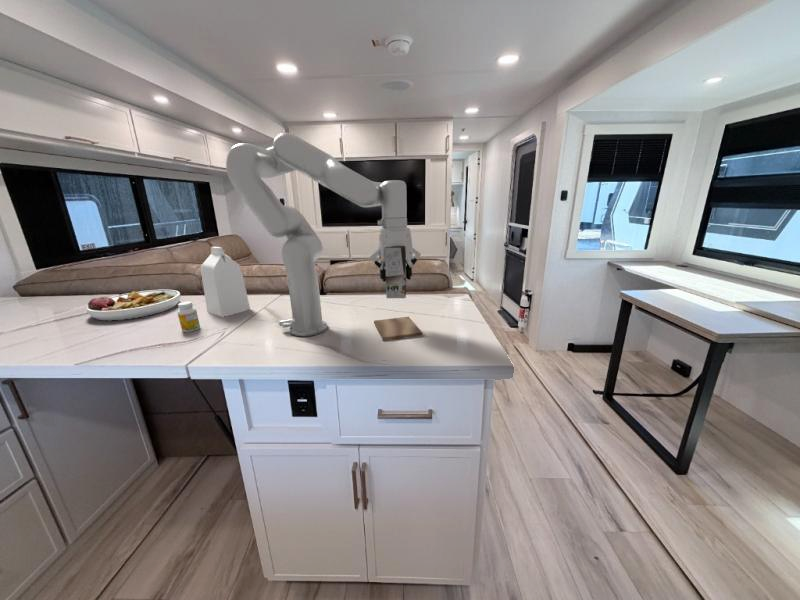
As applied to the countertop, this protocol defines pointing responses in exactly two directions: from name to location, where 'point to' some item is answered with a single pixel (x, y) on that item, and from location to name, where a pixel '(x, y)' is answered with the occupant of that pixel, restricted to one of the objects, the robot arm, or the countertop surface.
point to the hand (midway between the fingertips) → (396, 279)
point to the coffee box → (395, 272)
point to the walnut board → (397, 328)
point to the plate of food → (132, 304)
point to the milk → (223, 284)
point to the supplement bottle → (188, 317)
